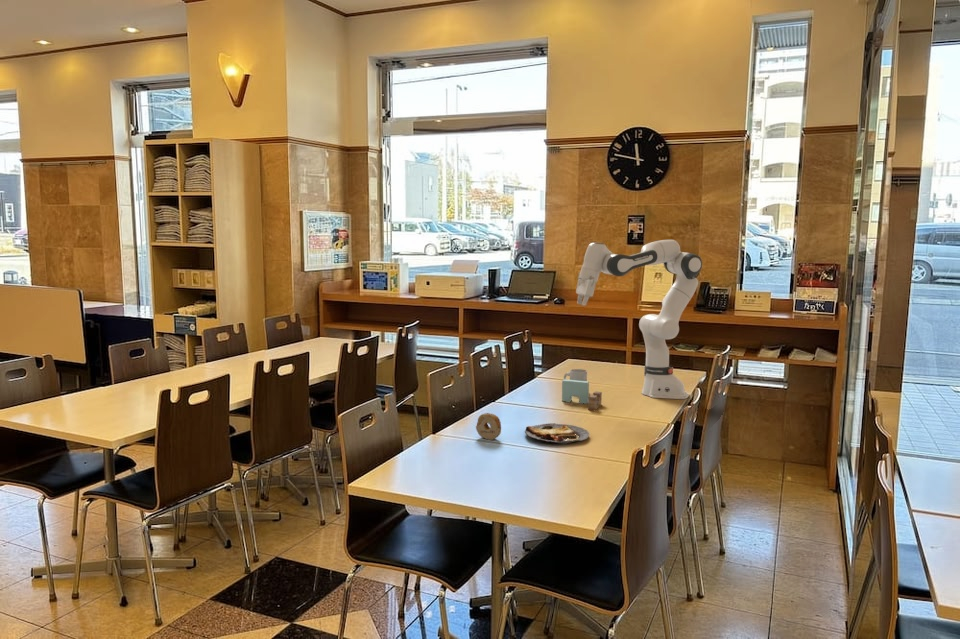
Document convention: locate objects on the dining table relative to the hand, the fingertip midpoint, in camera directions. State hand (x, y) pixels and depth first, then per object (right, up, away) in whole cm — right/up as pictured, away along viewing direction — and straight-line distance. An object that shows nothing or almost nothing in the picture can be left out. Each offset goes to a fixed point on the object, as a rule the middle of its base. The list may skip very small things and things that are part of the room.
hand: (581, 304), depth 323 cm
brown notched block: (+5, -47, -8) cm, 48 cm away
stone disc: (-44, -53, -56) cm, 89 cm away
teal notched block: (-3, -46, +2) cm, 46 cm away
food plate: (-17, -53, -53) cm, 77 cm away
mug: (0, -43, +23) cm, 49 cm away
